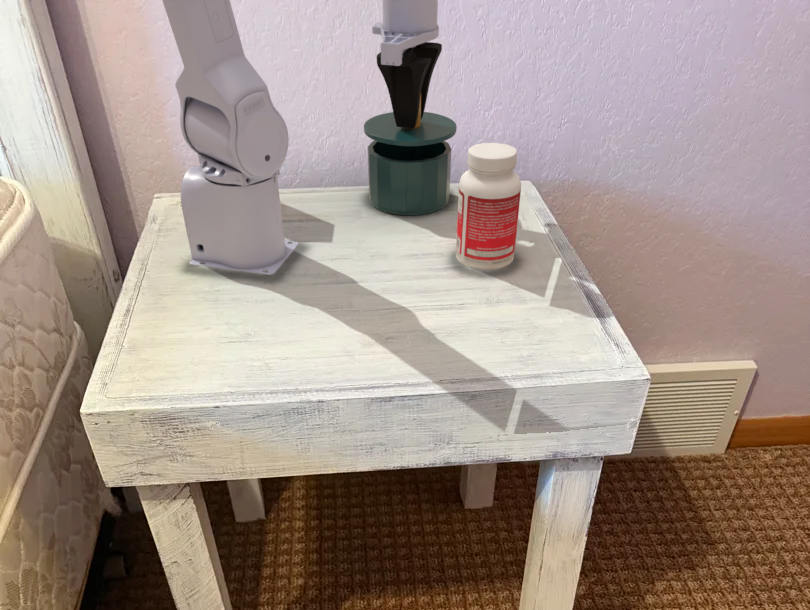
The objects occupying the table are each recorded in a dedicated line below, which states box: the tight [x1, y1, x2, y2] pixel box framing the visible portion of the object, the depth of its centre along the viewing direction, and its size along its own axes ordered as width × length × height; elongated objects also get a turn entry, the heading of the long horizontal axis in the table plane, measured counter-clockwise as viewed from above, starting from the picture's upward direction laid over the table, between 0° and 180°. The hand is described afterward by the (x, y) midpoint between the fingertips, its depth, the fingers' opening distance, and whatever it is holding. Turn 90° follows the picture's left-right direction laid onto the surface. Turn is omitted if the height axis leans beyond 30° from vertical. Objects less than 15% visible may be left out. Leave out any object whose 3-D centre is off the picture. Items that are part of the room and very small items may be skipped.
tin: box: [367, 140, 452, 216], centre depth 91 cm, size 10×10×6 cm
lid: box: [363, 95, 458, 146], centre depth 86 cm, size 11×11×5 cm
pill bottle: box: [455, 142, 522, 270], centre depth 77 cm, size 6×6×11 cm
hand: (409, 122), depth 87 cm, fingers closed on lid, 2 cm apart
